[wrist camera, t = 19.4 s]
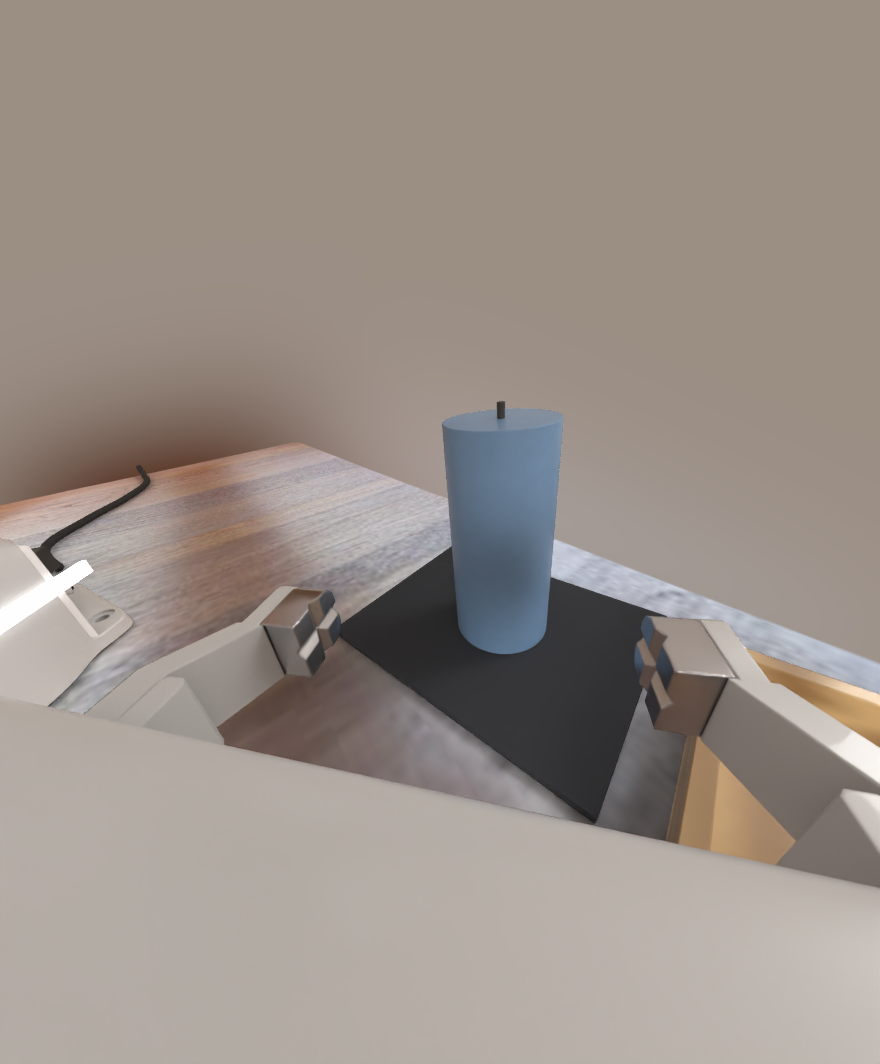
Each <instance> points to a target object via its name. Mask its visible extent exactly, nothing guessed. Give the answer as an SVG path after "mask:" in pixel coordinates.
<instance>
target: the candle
mask: <svg viewBox="0 0 880 1064" xmlns="http://www.w3.org/2000/svg"><path fill="white" fill-rule="evenodd" d="M563 421H564V417H563V415H562V414H561V413H558V412H555V411H550V410H543V409H505V401H499V402H497V410H486V411H478V412H472V413H466V414H462V415H458V416H454V417H451V418H449V419H447V420H445V421H444V422H443V423H442V429H443V441H444V453H445V466H446V479H447V491H448V504H449V516H450V529H451V541H452V554H453V566H454V579H455V591H456V604H457V616H458V626H459V629H460V631H461V633H462V635H463V636H464V637H465V639H466V640H467V641H468V642H470V643H471V644H472V645H474V646H476V647H477V648H479V649H482V650H484V651H487V652H491V653H497V654H514V653H519V652H522V651H525V650H528V649H530V648H532V647H533V646H535V645H536V644H537V643H538V642H539V641H540V640H541V639H542V638H543V636H544V634H545V631H546V625H547V613H548V601H549V589H550V577H551V565H552V553H553V541H554V529H555V517H556V504H557V493H558V481H559V469H560V457H561V445H562V432H563Z"/></svg>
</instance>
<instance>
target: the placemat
mask: <svg viewBox="0 0 880 1064" xmlns="http://www.w3.org/2000/svg"><path fill="white" fill-rule="evenodd" d="M645 616H657V617H667V616H665V615H662V614H659V613H656V612H653V611H650V610H647V609H644V608H641V607H638V606H635V605H632V604H629V603H626V602H623V601H620V600H617V599H614V598H611V597H608V596H605V595H602V594H599V593H596V592H593V591H590V590H587V589H584V588H581V587H578V586H575V585H572V584H569V583H566V582H563V581H560V580H558V579H555V578H552V577H550V589H549V601H548V613H547V625H546V631H545V634H544V636H543V638H542V639H541V640H540V641H539V642H538V643H537V644H536V645H535V646H533V647H532V648H530V649H528V650H525V651H522V652H519V653H514V654H497V653H491V652H487V651H484V650H482V649H479V648H477V647H476V646H474V645H472V644H471V643H470V642H468V641H467V640H466V639H465V637H464V636H463V635H462V633H461V631H460V629H459V626H458V616H457V604H456V591H455V579H454V566H453V554H452V546H451V547H450V548H449V549H447V550H446V551H444V552H443V553H441V554H440V555H439V556H437V557H436V558H434V559H433V560H432V561H430V562H429V563H427V564H426V565H424V566H423V567H422V568H420V569H419V570H417V571H416V572H414V573H413V574H412V575H410V576H409V577H407V578H406V579H405V580H403V581H402V582H400V583H399V584H397V585H396V586H395V587H393V588H392V589H390V590H389V591H388V592H386V593H385V594H383V595H382V596H380V597H379V598H378V599H376V600H375V601H373V602H372V603H370V604H369V605H368V606H366V607H365V608H363V609H362V610H361V611H359V612H358V613H356V614H355V615H353V616H352V617H351V618H349V619H348V620H346V621H345V622H344V623H342V624H341V629H340V633H339V636H340V637H341V638H343V639H344V640H345V641H347V642H348V643H350V644H351V645H352V646H354V647H355V648H356V649H358V650H359V651H361V652H362V653H363V654H365V655H366V656H367V657H369V658H370V659H371V660H373V661H374V662H376V663H377V664H378V665H380V666H381V667H382V668H384V669H385V670H386V671H388V672H389V673H391V674H392V675H393V676H395V677H396V678H397V679H399V680H400V681H401V682H403V683H404V684H406V685H407V686H408V687H410V688H411V689H412V690H414V691H415V692H417V693H418V694H419V695H421V696H422V697H423V698H425V699H426V700H427V701H429V702H430V703H432V704H433V705H434V706H436V707H437V708H438V709H440V710H441V711H442V712H444V713H445V714H447V715H448V716H449V717H451V718H452V719H453V720H455V721H456V722H457V723H459V724H460V725H462V726H463V727H464V728H466V729H467V730H468V731H470V732H471V733H473V734H474V735H475V736H477V737H478V738H479V739H481V740H482V741H483V742H485V743H486V744H488V745H489V746H490V747H492V748H493V749H494V750H496V751H497V752H498V753H500V754H501V755H503V756H504V757H505V758H507V759H508V760H509V761H511V762H512V763H513V764H515V765H516V766H518V767H519V768H520V769H522V770H523V771H524V772H526V773H527V774H529V775H530V776H531V777H533V778H534V779H535V780H537V781H538V782H539V783H541V784H542V785H544V786H545V787H546V788H548V789H549V790H550V791H552V792H553V793H554V794H556V795H557V796H559V797H560V798H561V799H563V800H564V801H565V802H567V803H568V804H570V805H571V806H572V807H574V808H575V809H576V810H578V811H579V812H580V813H582V814H583V815H585V816H586V817H587V818H589V819H590V820H591V821H593V822H594V823H596V821H597V818H598V815H599V812H600V810H601V807H602V804H603V801H604V798H605V795H606V792H607V789H608V787H609V784H610V781H611V778H612V775H613V772H614V769H615V766H616V763H617V761H618V758H619V755H620V752H621V749H622V746H623V743H624V740H625V737H626V735H627V732H628V729H629V726H630V723H631V720H632V717H633V714H634V711H635V709H636V706H637V703H638V700H639V697H640V694H641V691H642V688H643V686H641V685H640V684H639V682H638V678H637V675H636V671H635V665H634V652H635V647H636V643H637V642H638V641H639V640H641V639H642V638H644V637H643V634H642V632H641V629H640V627H641V624H642V620H643V619H644V617H645Z"/></svg>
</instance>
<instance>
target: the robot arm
mask: <svg viewBox="0 0 880 1064" xmlns="http://www.w3.org/2000/svg"><path fill="white" fill-rule="evenodd" d="M136 468H137V470H138V471H139V473H140V474H141V476H142V478H143V479H144V482H143V483H142V484H141V485H140V486H138V487H137V488H136V489H134V490H133V491H131V492H129V493H128V494H126V495H124V496H123V497H121V498H119V499H118V500H116V501H114V502H112V503H110V504H108V505H106V506H104V507H102V508H100V509H98V510H96V511H94V512H93V513H91V514H89V515H87V516H85V517H84V518H82V519H80V520H78V521H77V522H75V523H73V524H71V525H69V526H67V527H66V528H64V529H62V530H60V531H59V532H57V533H55V534H54V535H52V536H51V537H49V538H48V539H47V540H46V541H45V542H44V543H43V544H42V545H41V547H38V548H33V549H31V548H30V547H29V546H20V545H16V544H15V543H14V542H13V541H11V540H6V539H0V1064H880V747H878V746H876V745H875V744H873V743H872V742H870V741H869V740H867V739H866V738H864V737H862V736H861V735H859V734H858V733H856V732H855V731H853V730H851V729H850V728H848V727H847V726H845V725H844V724H842V723H840V722H839V721H837V720H836V719H834V718H833V717H831V716H830V715H828V714H826V713H825V712H823V711H822V710H820V709H819V708H817V707H815V706H814V705H812V704H811V703H809V702H808V701H806V700H805V699H803V698H801V697H800V696H798V695H797V694H795V693H794V692H792V691H790V690H789V689H787V688H786V687H784V686H783V685H781V684H776V683H771V682H770V681H769V679H768V678H767V677H766V675H765V674H764V673H763V671H762V670H761V669H760V667H759V666H758V664H757V663H756V662H755V660H754V659H753V658H752V656H751V655H750V654H749V652H748V651H747V650H746V648H745V647H744V645H743V644H742V643H741V641H740V640H739V639H738V637H737V636H736V635H735V633H734V632H733V631H732V629H731V628H730V626H729V625H728V624H727V623H725V622H724V621H722V620H706V619H695V620H694V619H684V618H670V617H657V616H645V617H644V619H643V620H642V624H641V627H640V629H641V632H642V634H643V637H644V638H642V639H641V640H639V641H638V642H637V643H636V647H635V652H634V665H635V671H636V675H637V678H638V682H639V684H640V685H641V686H643V687H644V688H645V689H646V690H647V691H648V692H647V695H646V699H645V703H646V706H647V708H648V711H649V714H650V717H651V720H652V723H653V726H654V729H657V730H662V731H668V732H674V733H680V734H685V735H691V736H697V737H701V738H700V740H701V741H702V742H703V743H704V744H705V745H706V746H707V747H708V748H709V749H710V750H711V751H712V752H713V753H714V754H715V756H716V757H717V758H718V759H719V760H720V761H721V762H722V763H723V764H724V765H725V766H726V767H727V768H728V769H729V770H730V771H731V773H732V774H733V775H734V776H735V777H736V778H737V779H738V780H739V781H740V782H741V783H742V784H743V785H744V786H745V787H746V788H747V789H748V791H749V792H750V793H751V794H752V795H753V796H754V797H755V798H756V799H757V800H758V801H759V802H760V803H761V804H762V805H763V806H764V808H765V809H766V810H767V811H768V812H769V813H770V814H771V815H772V816H773V817H774V818H775V819H776V820H777V821H778V822H779V823H780V825H781V826H782V827H783V828H784V829H785V830H786V831H787V832H788V833H789V834H790V835H791V836H792V837H793V838H794V839H795V840H796V842H795V843H794V844H793V845H792V846H791V847H790V848H789V849H788V851H787V852H786V853H785V854H784V855H783V856H782V857H781V858H780V860H779V861H778V863H777V864H776V865H772V864H768V863H763V862H758V861H754V860H749V859H745V858H740V857H735V856H731V855H726V854H722V853H717V852H712V851H708V850H703V849H699V848H694V847H689V846H685V845H680V844H676V843H671V842H666V841H662V840H657V839H653V838H648V837H644V836H639V835H634V834H630V833H625V832H621V831H616V830H611V829H607V828H602V827H598V826H593V825H589V824H584V823H580V822H575V821H570V820H566V819H561V818H557V817H552V816H548V815H543V814H538V813H534V812H529V811H525V810H520V809H516V808H511V807H506V806H502V805H497V804H493V803H488V802H484V801H479V800H474V799H470V798H465V797H461V796H456V795H452V794H447V793H442V792H438V791H433V790H429V789H424V788H419V787H415V786H410V785H406V784H401V783H396V782H392V781H387V780H383V779H378V778H373V777H369V776H364V775H360V774H355V773H350V772H346V771H341V770H337V769H332V768H327V767H323V766H318V765H314V764H309V763H305V762H300V761H295V760H291V759H286V758H282V757H277V756H272V755H268V754H263V753H259V752H254V751H249V750H245V749H240V748H236V747H231V746H226V745H224V739H223V737H222V736H221V734H220V733H219V731H218V730H217V727H218V726H219V725H221V724H222V723H223V722H225V721H226V720H227V719H229V718H230V717H231V716H233V715H234V714H235V713H237V712H238V711H239V710H241V709H242V708H243V707H245V706H246V705H247V704H249V703H250V702H251V701H253V700H254V699H255V698H257V697H258V696H259V695H261V694H262V693H263V692H265V691H266V690H267V689H269V688H270V687H271V686H273V685H274V684H275V683H277V682H278V681H279V680H281V679H282V678H283V677H285V675H293V676H301V677H310V678H313V676H314V675H315V673H316V672H317V670H318V668H319V667H320V665H321V664H322V662H323V661H324V659H325V653H324V651H326V650H327V649H329V648H330V647H332V646H333V645H334V644H335V642H336V640H337V639H338V636H339V633H340V629H341V620H340V616H339V613H338V612H337V611H336V610H335V609H334V608H333V605H334V603H335V599H334V596H333V593H332V592H330V591H328V590H321V589H312V588H302V587H290V586H282V587H279V588H277V589H276V590H275V591H274V592H273V593H272V594H271V595H270V596H269V597H268V598H267V599H266V600H265V601H264V602H263V603H262V604H261V605H260V606H259V607H258V608H257V609H256V610H255V611H254V612H253V613H251V614H250V615H249V616H248V617H247V618H246V619H245V620H244V621H243V622H242V623H235V624H233V625H231V626H228V627H226V628H224V629H222V630H220V631H218V632H216V633H214V634H211V635H209V636H207V637H205V638H203V639H201V640H199V641H196V642H194V643H192V644H190V645H188V646H186V647H184V648H181V649H179V650H177V651H175V652H173V653H171V654H169V655H166V656H164V657H162V658H160V659H158V660H156V661H154V662H152V663H149V664H147V665H145V666H143V667H141V668H139V669H137V670H136V671H135V672H134V673H132V674H131V675H130V676H129V677H128V678H126V679H125V680H124V681H123V682H122V683H120V684H119V685H118V686H117V687H116V688H114V689H113V690H112V691H111V692H109V693H108V694H107V695H106V696H105V697H103V698H102V699H101V700H100V701H99V702H97V703H96V704H95V705H94V706H93V707H91V708H90V709H89V710H88V711H87V712H85V713H84V714H80V713H75V712H71V711H66V710H61V709H57V708H52V707H48V705H50V704H51V703H52V702H53V701H54V700H55V699H56V698H58V697H59V696H60V695H61V694H62V693H63V692H64V691H65V690H66V689H67V688H68V687H69V686H70V685H71V684H72V683H73V682H74V681H75V680H76V679H77V678H78V677H79V675H80V674H81V673H82V672H83V671H84V669H85V668H86V667H87V666H88V665H89V663H90V662H91V661H92V660H93V659H94V658H95V656H96V655H97V654H98V653H99V652H100V651H102V650H103V649H104V648H106V647H107V646H108V645H109V644H111V643H112V642H113V641H115V640H116V639H117V638H118V637H120V636H121V635H122V634H123V633H125V632H126V631H127V630H128V629H129V628H130V627H131V626H132V624H133V620H132V619H131V618H130V617H129V615H128V614H127V613H126V612H125V611H123V610H121V609H120V608H118V607H116V606H115V605H113V604H111V603H110V602H108V601H106V600H105V599H103V598H102V597H100V596H98V595H97V594H95V593H93V592H92V591H90V590H88V589H87V588H85V587H83V586H82V585H80V584H78V583H77V582H78V581H79V580H81V579H82V578H84V577H85V576H87V575H88V574H90V573H91V572H93V570H92V569H91V567H90V566H89V565H88V563H87V562H86V560H82V561H80V562H78V563H77V564H75V565H73V566H72V567H70V568H69V569H67V570H65V571H64V572H62V573H60V574H59V575H57V576H56V577H53V576H52V575H51V574H52V573H53V572H54V571H61V570H62V569H63V568H64V566H63V564H62V563H60V562H59V561H58V560H56V559H55V558H54V557H53V555H52V554H51V552H50V550H51V548H52V547H53V546H54V545H55V544H56V543H57V542H58V541H60V540H61V539H62V538H64V537H65V536H67V535H69V534H70V533H72V532H74V531H76V530H77V529H79V528H81V527H82V526H84V525H86V524H88V523H89V522H91V521H93V520H94V519H96V518H98V517H99V516H101V515H103V514H105V513H107V512H109V511H110V510H112V509H114V508H116V507H118V506H120V505H121V504H123V503H125V502H127V501H128V500H130V499H131V498H133V497H134V496H136V495H137V494H139V493H140V492H142V491H143V490H144V489H145V488H146V487H147V486H148V485H149V483H150V478H149V477H148V476H147V474H146V473H145V471H144V470H143V468H142V467H141V466H140V465H138V466H136Z"/></svg>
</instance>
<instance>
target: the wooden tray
mask: <svg viewBox="0 0 880 1064" xmlns="http://www.w3.org/2000/svg"><path fill="white" fill-rule="evenodd" d="M746 650H747V651H748V652H749V654H750V655H751V656H752V658H753V659H754V660H755V662H756V663H757V664H758V666H759V667H760V669H761V670H762V671H763V673H764V674H765V675H766V677H767V678H768V679H769V681H770V682H771V683H776V684H781V685H783V686H784V687H786V688H787V689H789V690H790V691H792V692H794V693H795V694H797V695H798V696H800V697H801V698H803V699H805V700H806V701H808V702H809V703H811V704H812V705H814V706H815V707H817V708H819V709H820V710H822V711H823V712H825V713H826V714H828V715H830V716H831V717H833V718H834V719H836V720H837V721H839V722H840V723H842V724H844V725H845V726H847V727H848V728H850V729H851V730H853V731H855V732H856V733H858V734H859V735H861V736H862V737H864V738H866V739H867V740H869V741H870V742H872V743H873V744H875V745H876V746H878V747H880V694H877V693H874V692H871V691H868V690H865V689H863V688H860V687H857V686H854V685H851V684H848V683H845V682H842V681H839V680H836V679H833V678H831V677H828V676H825V675H822V674H819V673H816V672H813V671H810V670H807V669H804V668H801V667H799V666H796V665H793V664H790V663H787V662H784V661H781V660H778V659H775V658H772V657H769V656H767V655H764V654H761V653H758V652H755V651H752V650H749V649H746ZM700 738H701V737H697V736H691V735H687V736H686V741H685V746H684V751H683V756H682V761H681V766H680V771H679V776H678V781H677V786H676V791H675V796H674V801H673V806H672V811H671V816H670V821H669V826H668V831H667V836H666V842H671V843H676V844H680V845H685V846H689V847H694V848H699V849H703V850H708V851H712V852H717V853H722V854H726V855H731V856H735V857H740V858H745V859H749V860H754V861H758V862H763V863H768V864H772V865H776V864H777V863H778V861H779V860H780V858H781V857H782V856H783V855H784V854H785V853H786V852H787V851H788V849H789V848H790V847H791V846H792V845H793V844H794V843H795V842H796V840H795V839H794V838H793V837H792V836H791V835H790V834H789V833H788V832H787V831H786V830H785V829H784V828H783V827H782V826H781V825H780V823H779V822H778V821H777V820H776V819H775V818H774V817H773V816H772V815H771V814H770V813H769V812H768V811H767V810H766V809H765V808H764V806H763V805H762V804H761V803H760V802H759V801H758V800H757V799H756V798H755V797H754V796H753V795H752V794H751V793H750V792H749V791H748V789H747V788H746V787H745V786H744V785H743V784H742V783H741V782H740V781H739V780H738V779H737V778H736V777H735V776H734V775H733V774H732V773H731V771H730V770H729V769H728V768H727V767H726V766H725V765H724V764H723V763H722V762H721V761H720V760H719V759H718V758H717V757H716V756H715V754H714V753H713V752H712V751H711V750H710V749H709V748H708V747H707V746H706V745H705V744H704V743H703V742H702V741H701V740H700Z"/></svg>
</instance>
